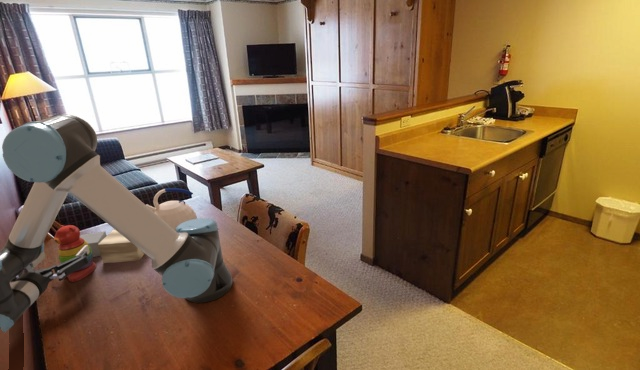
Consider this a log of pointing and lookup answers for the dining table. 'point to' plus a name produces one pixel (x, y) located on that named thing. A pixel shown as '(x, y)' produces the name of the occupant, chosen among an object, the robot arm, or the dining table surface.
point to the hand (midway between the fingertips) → (65, 250)
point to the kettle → (173, 209)
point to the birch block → (118, 249)
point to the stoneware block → (94, 241)
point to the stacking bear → (73, 250)
